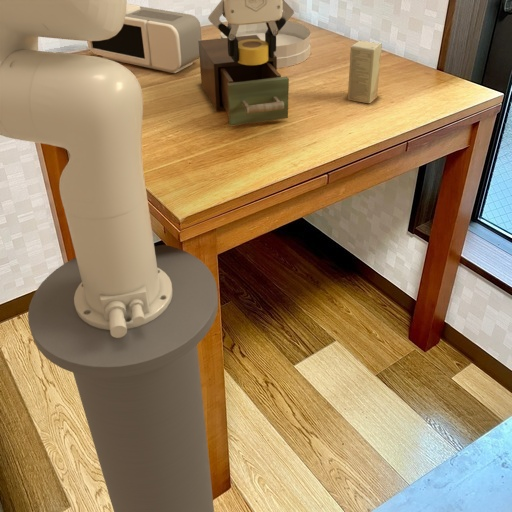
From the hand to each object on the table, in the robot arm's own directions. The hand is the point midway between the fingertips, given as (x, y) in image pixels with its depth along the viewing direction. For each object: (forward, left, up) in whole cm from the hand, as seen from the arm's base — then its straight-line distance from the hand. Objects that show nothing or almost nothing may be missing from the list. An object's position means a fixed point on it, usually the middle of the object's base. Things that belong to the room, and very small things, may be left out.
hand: (252, 56), depth 110 cm
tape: (0, 0, -1) cm, 1 cm away
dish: (+35, -13, -12) cm, 39 cm away
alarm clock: (+38, +16, -12) cm, 43 cm away
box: (+2, -24, -12) cm, 27 cm away
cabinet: (+12, 0, -12) cm, 17 cm away
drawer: (0, 0, -11) cm, 11 cm away
